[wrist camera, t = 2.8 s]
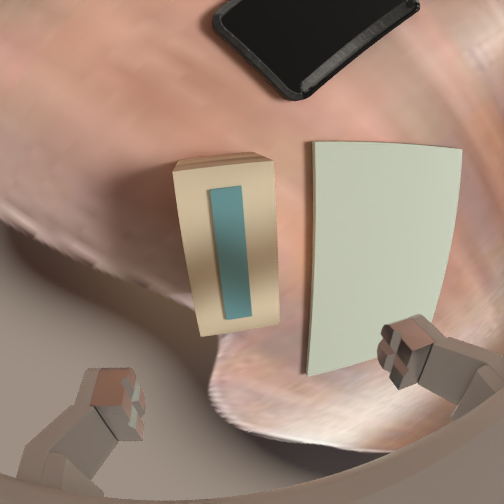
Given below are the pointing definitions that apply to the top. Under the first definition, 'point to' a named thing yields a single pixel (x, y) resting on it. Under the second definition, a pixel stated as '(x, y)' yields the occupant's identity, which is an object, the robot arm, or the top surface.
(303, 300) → the top surface
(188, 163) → the maple block
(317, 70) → the phone
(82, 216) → the top surface
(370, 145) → the rubber mat
